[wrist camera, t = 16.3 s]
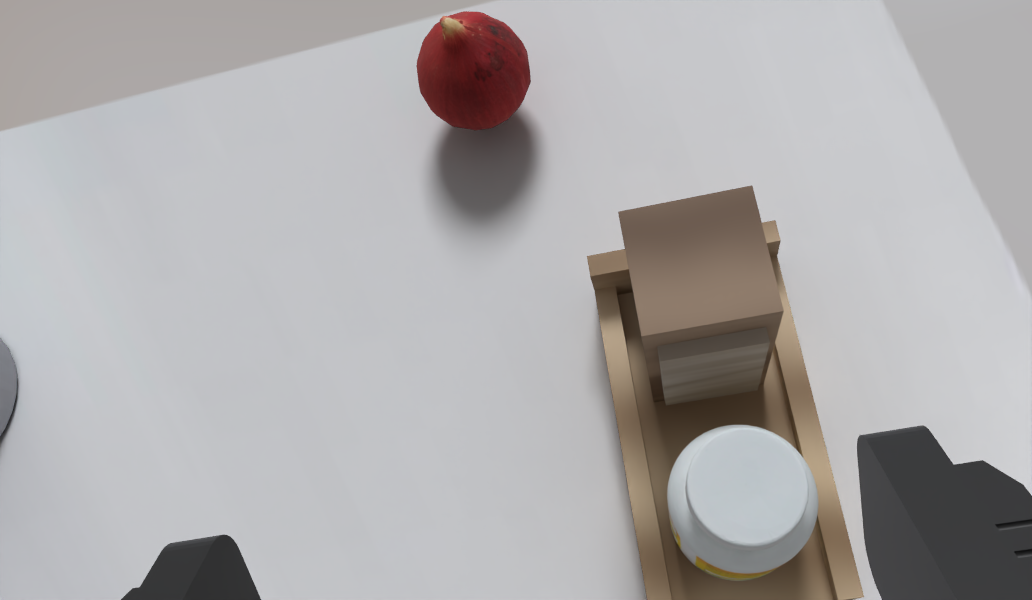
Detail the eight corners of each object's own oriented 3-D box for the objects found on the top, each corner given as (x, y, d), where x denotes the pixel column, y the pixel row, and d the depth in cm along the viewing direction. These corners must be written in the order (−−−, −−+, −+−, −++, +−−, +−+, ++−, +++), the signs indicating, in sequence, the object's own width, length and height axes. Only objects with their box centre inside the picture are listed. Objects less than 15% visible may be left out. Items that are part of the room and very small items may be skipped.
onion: (532, 56, 51) (504, -42, 43) (547, 143, 49) (521, 56, 41) (433, 79, 51) (389, -14, 44) (443, 166, 49) (399, 84, 42)
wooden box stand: (853, 599, 38) (913, 586, 28) (654, 626, 39) (639, 624, 29) (767, 259, 44) (790, 141, 33) (596, 290, 45) (566, 186, 35)
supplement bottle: (645, 510, 40) (631, 474, 31) (735, 431, 40) (747, 373, 31) (731, 610, 38) (743, 603, 29) (825, 526, 38) (866, 493, 29)
